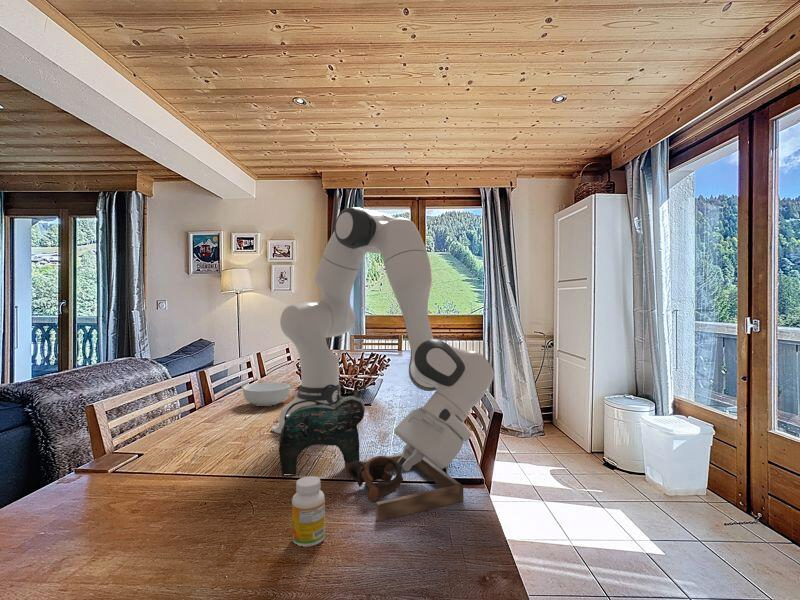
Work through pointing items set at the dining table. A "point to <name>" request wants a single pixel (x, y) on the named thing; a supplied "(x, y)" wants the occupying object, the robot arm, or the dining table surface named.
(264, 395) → the cereal bowl
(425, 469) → the wooden open frame
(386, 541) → the dining table surface
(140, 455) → the dining table surface
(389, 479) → the pottery mug
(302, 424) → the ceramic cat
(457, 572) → the dining table surface
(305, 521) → the supplement bottle
